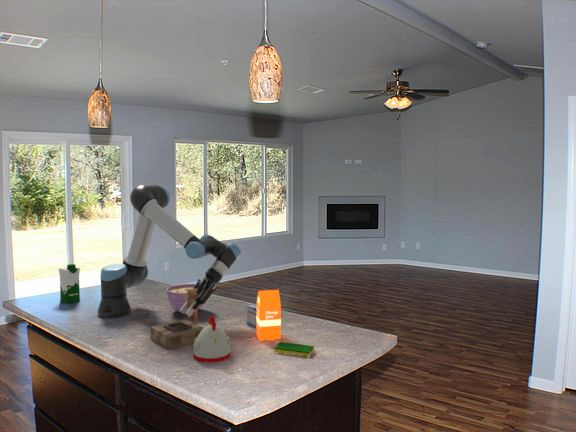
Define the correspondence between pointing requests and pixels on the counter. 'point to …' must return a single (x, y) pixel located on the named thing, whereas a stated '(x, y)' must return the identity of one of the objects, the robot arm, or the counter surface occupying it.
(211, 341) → the kitchen timer
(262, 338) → the orange juice
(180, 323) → the walnut socket block
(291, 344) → the dish sponge
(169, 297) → the bowl of food
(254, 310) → the medicine box
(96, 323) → the counter surface
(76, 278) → the milk carton
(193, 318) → the terracotta peg
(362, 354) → the counter surface
